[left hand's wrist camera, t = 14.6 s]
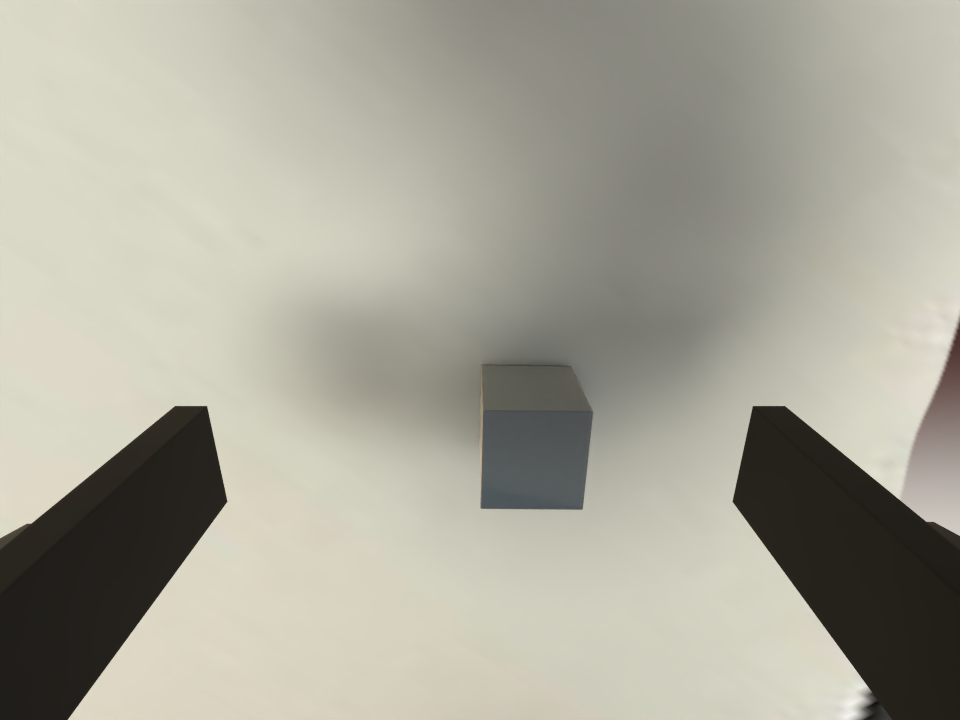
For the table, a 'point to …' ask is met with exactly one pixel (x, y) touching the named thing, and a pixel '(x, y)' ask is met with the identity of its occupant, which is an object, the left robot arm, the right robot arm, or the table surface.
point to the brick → (533, 438)
